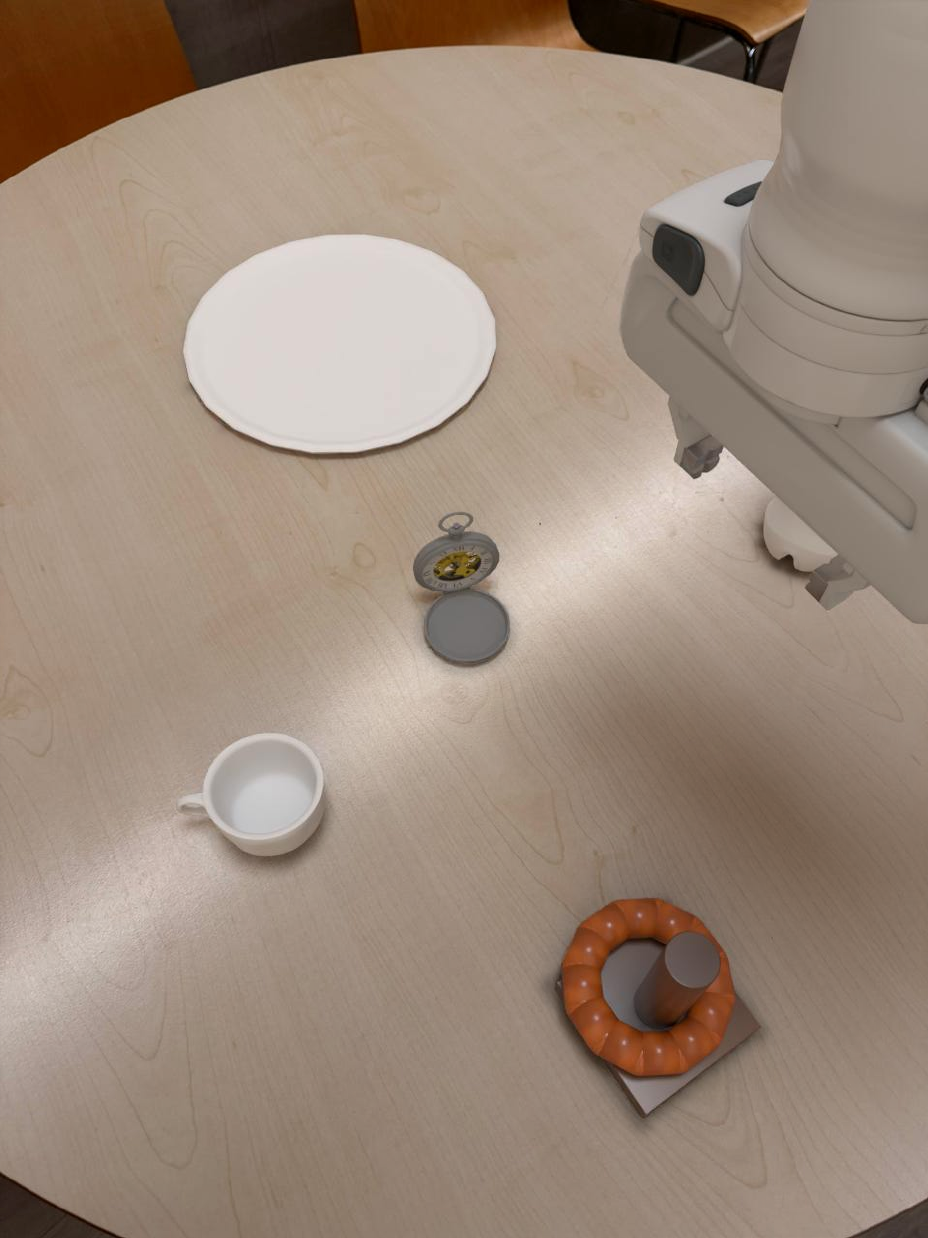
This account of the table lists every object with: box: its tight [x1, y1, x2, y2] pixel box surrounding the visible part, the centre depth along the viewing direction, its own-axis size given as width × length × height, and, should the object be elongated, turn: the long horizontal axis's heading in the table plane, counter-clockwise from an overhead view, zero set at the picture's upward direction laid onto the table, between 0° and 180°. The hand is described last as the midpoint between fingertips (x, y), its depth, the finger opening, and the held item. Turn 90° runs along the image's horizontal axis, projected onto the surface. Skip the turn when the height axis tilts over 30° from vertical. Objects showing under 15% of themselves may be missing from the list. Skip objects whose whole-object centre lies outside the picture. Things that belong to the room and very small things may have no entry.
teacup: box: [175, 732, 325, 857], centre depth 69 cm, size 10×8×5 cm
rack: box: [554, 931, 762, 1119], centre depth 59 cm, size 9×9×12 cm
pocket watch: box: [412, 511, 511, 665], centre depth 76 cm, size 8×8×10 cm
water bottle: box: [762, 494, 839, 572], centre depth 74 cm, size 7×7×25 cm
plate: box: [182, 233, 497, 455], centre depth 96 cm, size 29×29×1 cm
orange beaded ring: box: [560, 897, 736, 1076], centre depth 63 cm, size 10×10×2 cm
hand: (758, 527), depth 50 cm, fingers open, 8 cm apart
